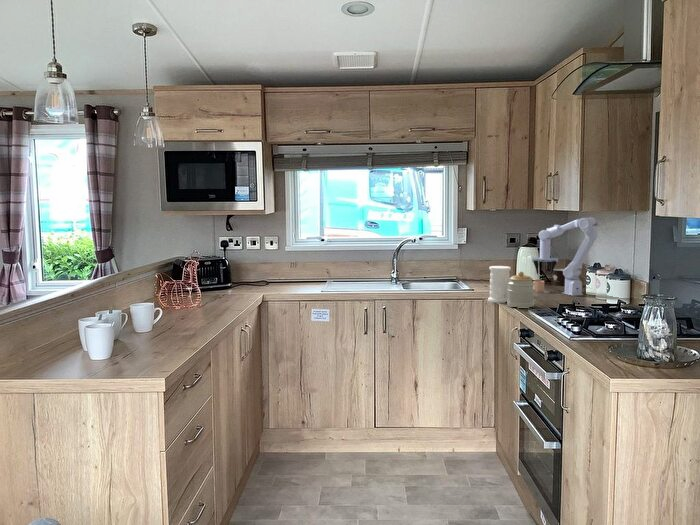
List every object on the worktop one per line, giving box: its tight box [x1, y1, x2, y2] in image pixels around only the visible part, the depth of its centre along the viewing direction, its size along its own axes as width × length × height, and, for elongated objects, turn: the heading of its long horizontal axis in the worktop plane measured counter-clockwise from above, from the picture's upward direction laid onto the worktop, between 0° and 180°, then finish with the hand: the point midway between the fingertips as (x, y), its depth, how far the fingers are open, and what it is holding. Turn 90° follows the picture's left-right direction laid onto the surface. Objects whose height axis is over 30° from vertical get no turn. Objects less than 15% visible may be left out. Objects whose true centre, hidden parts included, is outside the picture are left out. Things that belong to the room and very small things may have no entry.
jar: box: [506, 271, 535, 308], centre depth 271 cm, size 13×13×18 cm
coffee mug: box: [549, 268, 565, 287], centre depth 337 cm, size 12×9×10 cm
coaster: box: [534, 290, 552, 295], centre depth 312 cm, size 10×10×1 cm
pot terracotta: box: [533, 279, 545, 292], centre depth 312 cm, size 6×6×6 cm
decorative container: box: [487, 265, 512, 304], centre depth 287 cm, size 12×12×18 cm
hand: (544, 274), depth 317 cm, fingers open, 7 cm apart
